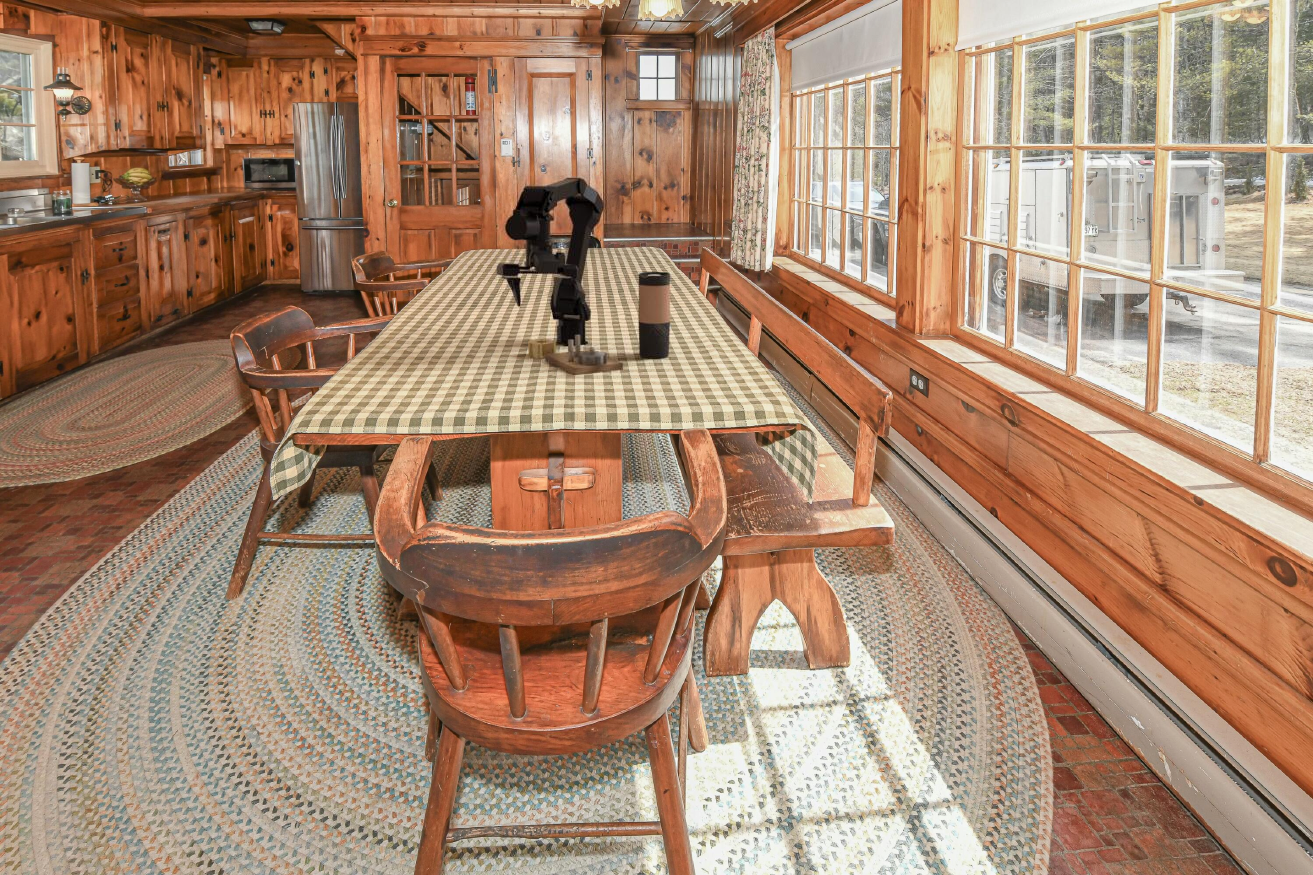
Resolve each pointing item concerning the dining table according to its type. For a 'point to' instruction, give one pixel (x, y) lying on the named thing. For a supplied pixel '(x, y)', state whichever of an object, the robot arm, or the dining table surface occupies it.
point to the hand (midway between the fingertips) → (537, 306)
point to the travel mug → (654, 314)
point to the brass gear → (541, 348)
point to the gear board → (583, 360)
